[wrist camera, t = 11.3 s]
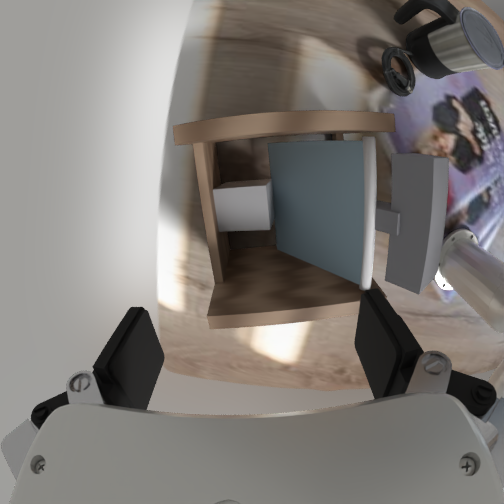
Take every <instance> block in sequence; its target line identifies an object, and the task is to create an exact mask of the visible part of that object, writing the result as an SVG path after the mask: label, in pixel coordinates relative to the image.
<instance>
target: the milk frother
mask: <svg viewBox="0 0 504 504" xmlns="http://www.w3.org/2000/svg"><path fill="white" fill-rule="evenodd" d="M424 9H430V10H433V11H435V12H436V13H438V14H439V15H440V16H441V17H440V18H438V19H436V20H434V21H432V22H430V23H428V24H425V25H423V26H421V27H419V28H417V29H415V30H414V31H412V32H410V33H409V35H408V36H407V39H406V47H407V51H405V50H402V49H399V48H396V47H389V48H387V49H386V50H385V51H384V52H383V55H382V68H383V72H384V76H385V79H386V81H387V83H388V85H389V87H390V89H391V90H392V91H393V92H394V93H395V94H397V95H399V96H408V95H409V94H411V93H412V92H413V89H414V86H415V75H414V70H413V67H412V65H411V63H410V61H409V59H408V58H407V57H406V56H405V54H404V53H406V54H408V55H409V56H410V58H411V60H412V62H413V63H414V65H415V66H416V67H417V68H418V69H419V70H420V71H421V72H422V73H424V74H425V75H426V76H428V77H430V78H434V79H440V78H443V77H444V76H446V75H450V74H455V73H461V72H467V71H473V70H480V69H488V68H493V69H496V70H499V69H501V68H503V66H504V48H503V45H502V42H501V40H500V38H499V36H498V34H497V32H496V30H495V29H494V27H493V26H492V25H491V23H490V22H489V21H488V20H487V19H486V18H485V17H484V16H483V15H482V14H481V13H479V12H478V11H477V10H475V9H473V8H470V7H464V8H463V9H462V10H461V12H459V11H458V10H457V9H456V8H455V7H454V6H453V5H452V4H451V3H450V2H449V1H447V0H409V1H408V2H406V3H405V4H404V5H403V6H402V7H401V8H400V9H399V10H398V11H397V12H396V14H395V16H394V20H395V21H396V22H397V23H399V24H404V23H405V22H407V21H408V20H410V19H411V18H412V17H414V16H415V15H416V14H418V13H419V12H421V11H422V10H424ZM403 52H404V53H403ZM393 56H397V57H399V58H400V59H401V60H402V61H403V63H404V64H405V66H406V69H407V72H408V78H409V80H406V79H405V78H404V77H403V76H402V75H400V73H398V72H396V71H395V70H394V68H391V59H392V57H393Z"/></svg>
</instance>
